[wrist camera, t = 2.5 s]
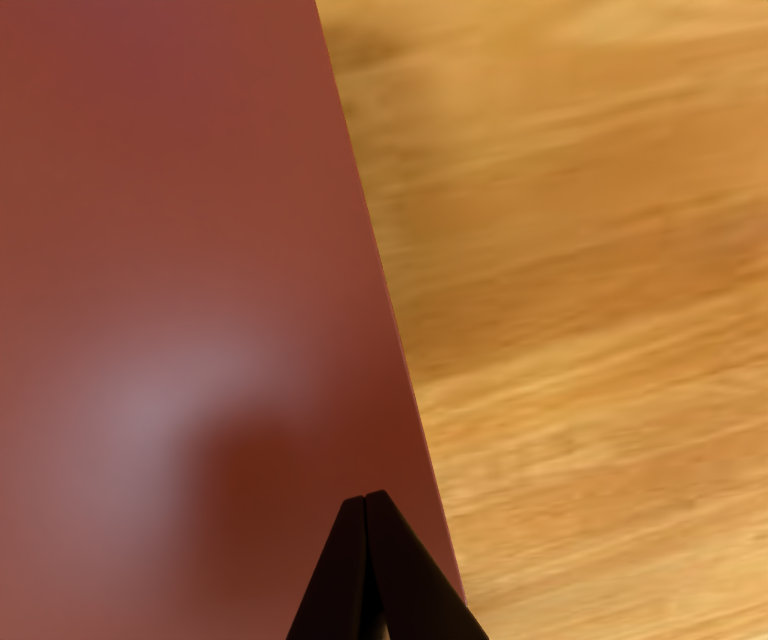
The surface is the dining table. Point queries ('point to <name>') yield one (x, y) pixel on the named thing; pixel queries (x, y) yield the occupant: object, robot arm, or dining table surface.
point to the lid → (187, 323)
